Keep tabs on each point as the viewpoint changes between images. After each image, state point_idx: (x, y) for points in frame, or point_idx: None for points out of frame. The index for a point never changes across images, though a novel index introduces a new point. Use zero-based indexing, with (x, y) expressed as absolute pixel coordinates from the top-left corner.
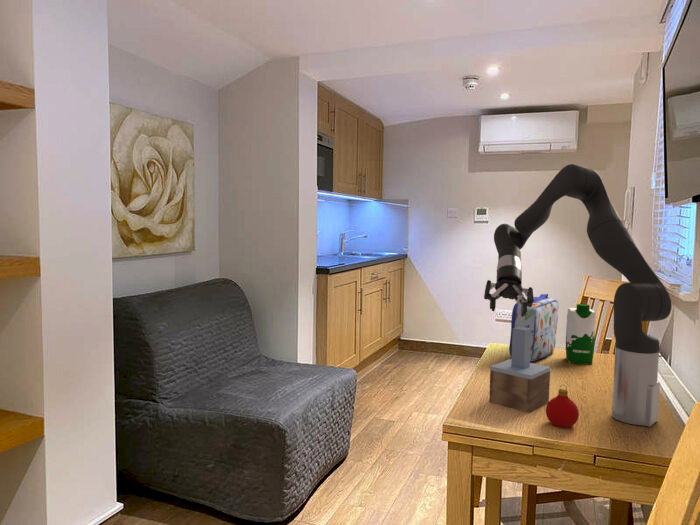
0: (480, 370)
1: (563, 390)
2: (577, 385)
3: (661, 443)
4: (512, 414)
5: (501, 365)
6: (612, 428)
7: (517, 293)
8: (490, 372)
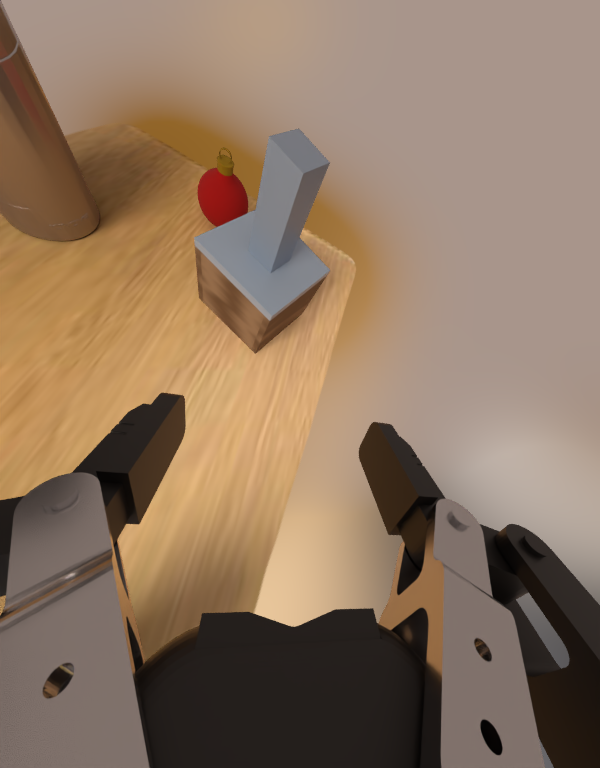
0: (274, 534)
1: (225, 160)
2: (22, 420)
3: (90, 140)
4: None
5: (307, 271)
6: (137, 196)
7: (131, 660)
8: (324, 278)
